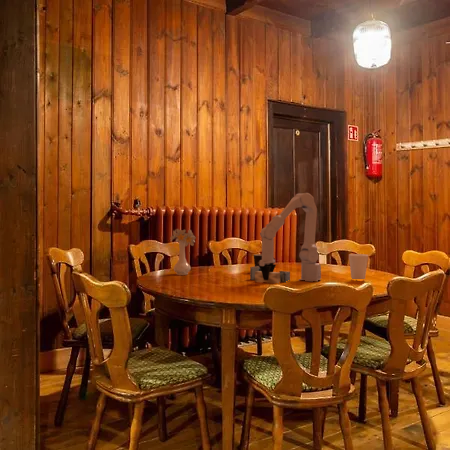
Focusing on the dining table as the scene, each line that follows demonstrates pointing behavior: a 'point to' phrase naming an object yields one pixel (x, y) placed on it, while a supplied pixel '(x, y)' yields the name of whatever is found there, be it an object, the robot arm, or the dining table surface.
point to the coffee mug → (258, 259)
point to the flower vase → (182, 250)
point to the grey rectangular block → (253, 272)
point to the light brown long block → (273, 278)
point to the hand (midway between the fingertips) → (267, 279)
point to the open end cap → (284, 276)
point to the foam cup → (358, 265)
